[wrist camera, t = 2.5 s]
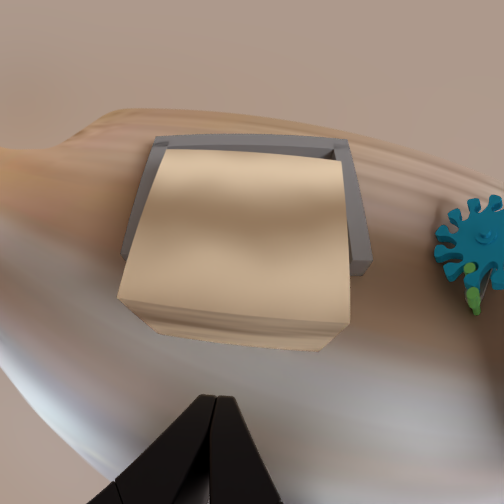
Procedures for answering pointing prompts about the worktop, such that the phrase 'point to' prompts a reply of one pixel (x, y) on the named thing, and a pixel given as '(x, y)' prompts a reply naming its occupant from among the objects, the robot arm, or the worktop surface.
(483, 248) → the gear
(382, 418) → the worktop surface
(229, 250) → the oak block
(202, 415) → the robot arm
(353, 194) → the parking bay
